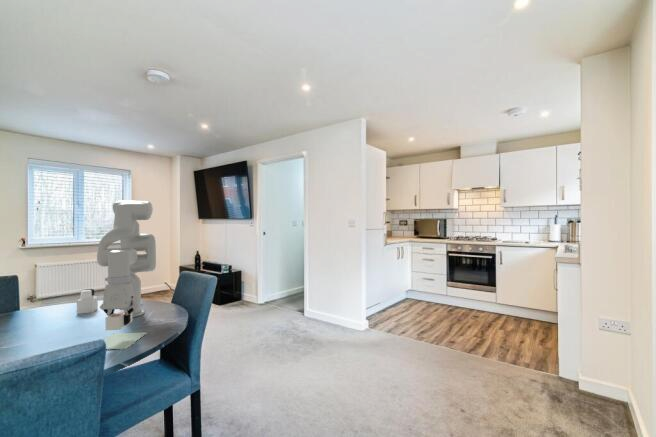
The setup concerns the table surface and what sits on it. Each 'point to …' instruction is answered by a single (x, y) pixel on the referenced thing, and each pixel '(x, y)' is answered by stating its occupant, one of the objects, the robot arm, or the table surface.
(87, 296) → the medicine bottle
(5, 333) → the table surface
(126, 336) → the mat
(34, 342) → the table surface
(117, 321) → the cream rectangular box
